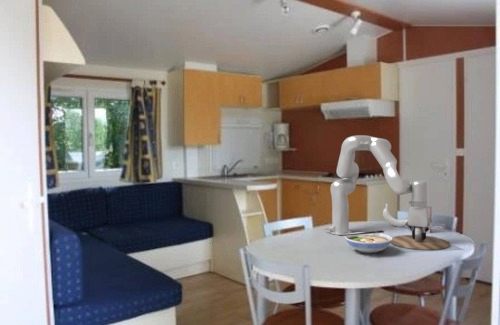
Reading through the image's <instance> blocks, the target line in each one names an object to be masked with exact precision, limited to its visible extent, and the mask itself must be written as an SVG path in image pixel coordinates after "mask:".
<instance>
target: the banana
mask: <svg viewBox="0 0 500 325" xmlns="http://www.w3.org/2000/svg"><path fill="white" fill-rule="evenodd" d="M382 217H383V218H384V220H385V221H386V222H387V224H389V225H391V226H393V227H398V228H399V227H400V228H401V227H405V226H406V225H405V224H406V222H407V221H408V218H407V219H406V218H405V219H396V218H394V217H392V215H391V214H390V211H389V205H388V204H387V202H385V208H384V209H383V211H382ZM406 227H407V226H406Z"/></svg>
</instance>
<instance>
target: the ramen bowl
mask: <svg viewBox="0 0 500 325" xmlns="http://www.w3.org/2000/svg"><path fill="white" fill-rule="evenodd" d="M339 237H344V238H345V240H346V242H347V243H348V244H349V246H350V247H351V248H353V249H354V250H356V251H358V252H360V253H363V254H376V253H378V252H380V251H383V250H385V249H386V248H388V247H389V246H390V243H391V241H392V237H393V236H391V235H389V234H385V231H384V230H372V231H365V232H364V231H361V232H359V231H357V232H351V233H350V234H347V235H339Z"/></svg>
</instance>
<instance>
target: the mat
mask: <svg viewBox="0 0 500 325" xmlns="http://www.w3.org/2000/svg"><path fill="white" fill-rule="evenodd" d="M429 236H430V237H436V238H438V237H437V236H434V235H429ZM449 244H450V246H449V247H448V248H446V249H442V250H430V251H428V250H412V249H406V248H401V247H398V246H395V245H392V244H391V243H390V244H389V246H391V247H393V248H396V249H397V250H398V251H400V252H402V253H422V252H423V253H424V252H444V251H445V252H448V251H451V252H452V251H465V248H462V247H460V246H457V245H455V244H453V243H450V242H449Z"/></svg>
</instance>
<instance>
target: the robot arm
mask: <svg viewBox="0 0 500 325" xmlns="http://www.w3.org/2000/svg"><path fill="white" fill-rule="evenodd" d="M391 150H392V144H391V143H390V141H389V140H387V139H386V138H380V137H375V136H371V135H366V134H365V135H364V134H362V135H361V134H359V135H358V134H357V135H351V136H349V137H348V136H347V137H346V138H345V139H344V141H343V142H342V143H341V148H340V154H339V158H338V162H337V166H336V175H337V176H338V177H339V178H340V179H337V180H334V181H333V182H332V183H331V185H330V187H329V188H330V189H329V190H330V195H331V213H332V214H331V220H332V222H331V223H332V224H330V225H329V226H324V228H323V229H324V230H325V231H329V233H330V234H331V235H337V236H340V235H347V234H350V233H352V230H350V229H349V226H350V225H349V223H350V221H349V217H350V216H349V208H350V207H349V205H350V204H349V198H348V195H350V194H352V193H354V191H355V189H356V187H357V181H358V179H359V173H360V168H359V165H358V164H357V163H356V162H355V159H356V158H355V157H356V151H368V152H370V153H372V155H373V156H374V158H375V159H376V161H377V162H378V163H379V164H378V165H380V167H381V168H382V171H383V175H384V178H385V180H386V182H387V184H388V186H389V187H390V189H391V190H392V191H393V192H394V194H396V195H399V196H402V195H407V194H411V200H410V201H408V205H411V206H410V207H409V209H408V217H407V219H408V221H407V222H406V224H405V225H406V227H408V228H409V229H410V232H411V235H412V237H413V239H415V227H416V226H417V227H422V229H423V233H422V240H425V239H426V236H427V233H426V232H427V231H428V230H429V229H431V230H432V229H433V228H434V226H433V224H432V221H431V222H430V215H429V209H428V207H427V206H428V183H427V181H426V180H413V179H408V178H405V179H402V177H401V176H400V174H399V172H398V171H397V164H398V160H397V158H396V157H395V156H394V154H393V153H392V152H391ZM427 226H429V227H428V228H426V227H427Z"/></svg>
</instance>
